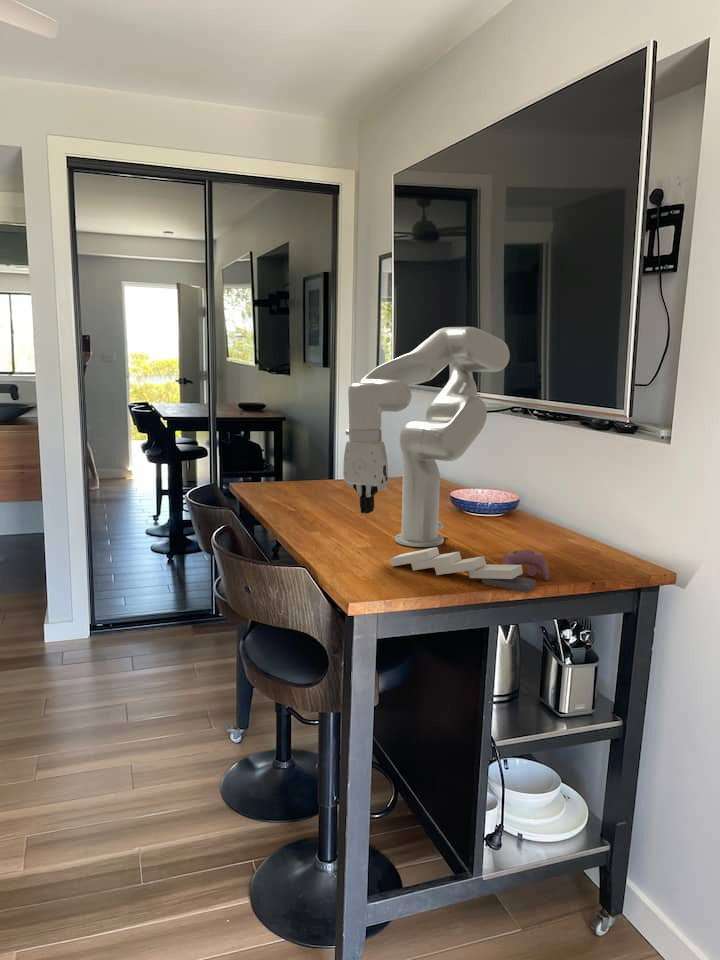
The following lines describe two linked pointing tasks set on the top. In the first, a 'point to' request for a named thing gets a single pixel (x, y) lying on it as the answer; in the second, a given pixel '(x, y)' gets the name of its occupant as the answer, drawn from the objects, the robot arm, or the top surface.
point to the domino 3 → (461, 566)
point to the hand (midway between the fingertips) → (367, 511)
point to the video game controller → (528, 562)
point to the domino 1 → (414, 556)
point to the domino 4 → (496, 571)
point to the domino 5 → (512, 583)
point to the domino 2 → (437, 561)
